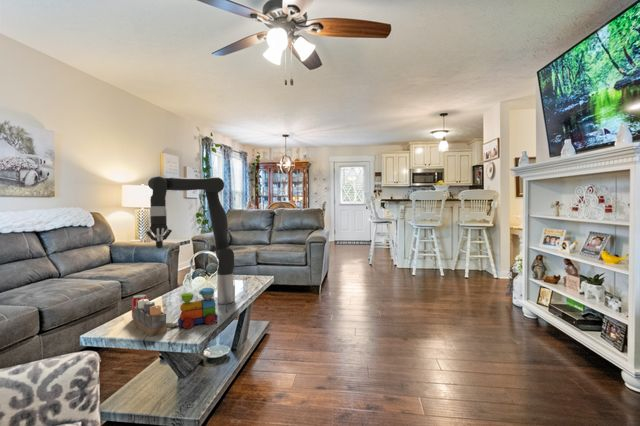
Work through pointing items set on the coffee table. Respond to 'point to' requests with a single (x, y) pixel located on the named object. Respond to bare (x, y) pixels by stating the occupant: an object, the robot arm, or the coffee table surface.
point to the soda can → (136, 302)
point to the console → (150, 322)
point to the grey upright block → (148, 306)
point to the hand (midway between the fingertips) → (159, 248)
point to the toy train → (197, 310)
